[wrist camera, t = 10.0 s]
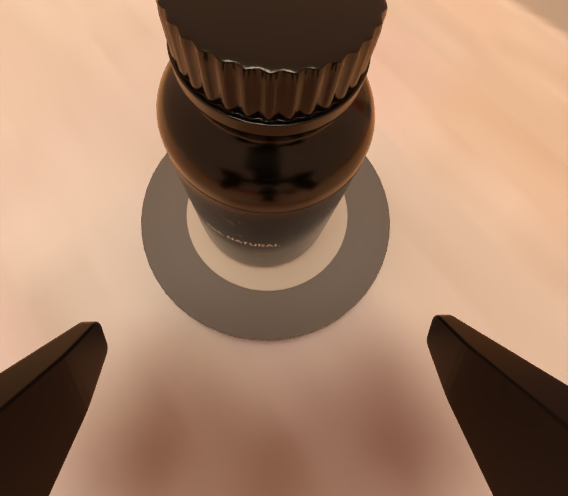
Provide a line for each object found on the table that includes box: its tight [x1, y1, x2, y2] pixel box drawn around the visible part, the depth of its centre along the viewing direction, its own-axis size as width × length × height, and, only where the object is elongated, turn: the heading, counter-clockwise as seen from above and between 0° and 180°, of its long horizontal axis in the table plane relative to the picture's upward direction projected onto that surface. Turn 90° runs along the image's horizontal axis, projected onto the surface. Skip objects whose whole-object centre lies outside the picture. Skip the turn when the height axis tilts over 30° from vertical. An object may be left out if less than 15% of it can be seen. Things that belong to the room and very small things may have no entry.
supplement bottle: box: [156, 0, 387, 267], centre depth 12 cm, size 7×7×12 cm
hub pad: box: [141, 153, 390, 340], centre depth 19 cm, size 14×14×2 cm
